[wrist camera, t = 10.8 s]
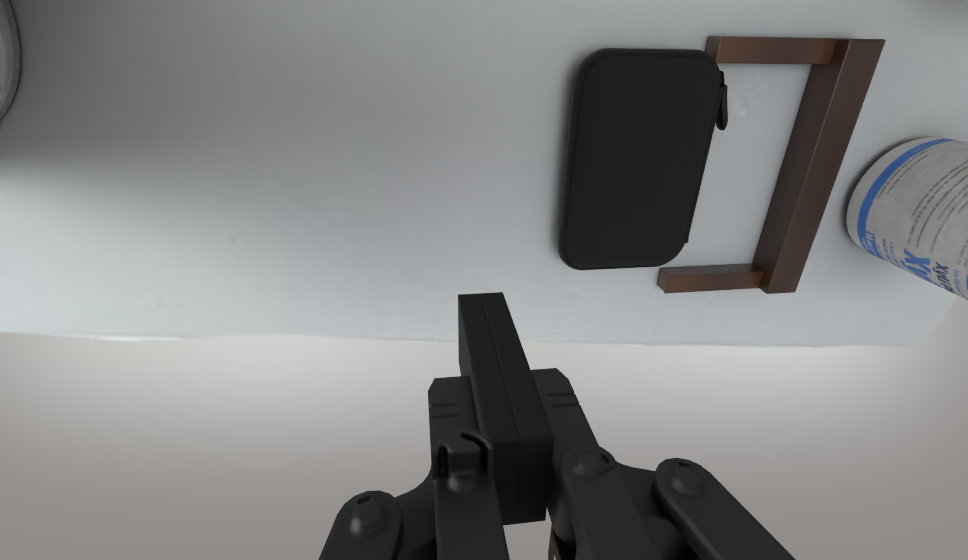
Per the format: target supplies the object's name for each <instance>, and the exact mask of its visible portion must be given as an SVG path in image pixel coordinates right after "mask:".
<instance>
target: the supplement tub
mask: <svg viewBox="0 0 968 560" xmlns="http://www.w3.org/2000/svg"><path fill="white" fill-rule="evenodd" d="M847 228H848V232H849V235H850V237H851V238H852V240H853V241H854V243H855V244H856V245H857V246H859V247H860V248H861V249H863V250H864V251H866V252H868V253H871V254H872V255H874V256H877V257H879V258H881V259H883V260H885V261H887V262H889V263H891V264H893V265H896V266H898V267H900V268H902V269H904V270H906V271H908V272H910V273H912V274H914V275H917V276H919V277H921V278H923V279H925V280H927V281H929V282H931V283H933V284H935V285H937V286H940V287H942V288H944V289H946V290H948V291H950V292H952V293H954V294H956V295H958V296H961V297H963V298H965V299H967V300H968V142H964V141H958V140H953V139H948V138H942V137H926V138H920V139H916V140H913V141H909V142H906V143H904V144H902V145H900V146H898V147H896V148H894V149H892V150H891V151H889V152H888V153H886V154H885V155H883V156H882V157H881V158H880V159H879V160H877V161H876V162H875V163H874V164H873V165H872V166H871V167H870V168H869V169H868V171H867V172H866V173H865V174H864V176H863V177H862V178H861V180H860V181H859V183H858V184H857V186H856V188H855V190H854V192H853V194H852V196H851V199H850V202H849V205H848V210H847Z"/></svg>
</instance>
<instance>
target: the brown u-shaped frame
mask: <svg viewBox="0 0 968 560" xmlns="http://www.w3.org/2000/svg"><path fill="white" fill-rule="evenodd" d="M884 43H885V40H884V39H844V38H790V37H737V36H708V39H707V44H706V49H705V52H706V53H707V54H709V55H710V56H711V57H712V58H713V59H714V60H715V62H716V63H753V64H813V66H812V69H811V73H810V76H809V79H808V83H807V86H806V89H805V93H804V96H803V99H802V102H801V106H800V109H799V112H798V116H797V119H796V122H795V126H794V129H793V132H792V135H791V139H790V142H789V145H788V149H787V152H786V155H785V158H784V162H783V165H782V168H781V172H780V175H779V178H778V182H777V185H776V188H775V191H774V195H773V198H772V201H771V205H770V208H769V211H768V215H767V218H766V221H765V224H764V228H763V231H762V234H761V238H760V241H759V244H758V247H757V251H756V254H755V257H754V261H753V264H737V265H717V266H696V267H675V268H660V272H659V277H658V281H657V285H658V286H659V287H660V288H661V289H662V290H663V291H664V292H665V293H678V292H696V291H714V290H732V289H750V288H760V289H761V290H762V291H764V292H765V293H767V294H773V293H790V292H795V291H796V288H797V286H798V283H799V280H800V277H801V274H802V272H803V269H804V266H805V263H806V260H807V258H808V255H809V252H810V249H811V247H812V244H813V241H814V238H815V235H816V233H817V230H818V227H819V224H820V222H821V219H822V216H823V213H824V210H825V208H826V205H827V202H828V199H829V196H830V194H831V191H832V188H833V185H834V183H835V180H836V177H837V174H838V171H839V169H840V166H841V163H842V160H843V158H844V155H845V152H846V149H847V146H848V144H849V141H850V138H851V135H852V132H853V130H854V127H855V124H856V121H857V119H858V116H859V113H860V110H861V107H862V105H863V102H864V99H865V96H866V94H867V91H868V88H869V85H870V82H871V80H872V77H873V74H874V71H875V68H876V66H877V63H878V60H879V57H880V55H881V52H882V49H883V46H884Z"/></svg>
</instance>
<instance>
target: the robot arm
mask: <svg viewBox="0 0 968 560" xmlns="http://www.w3.org/2000/svg"><path fill="white" fill-rule="evenodd" d="M19 71H20V45H19V38H18V32H17V27H16V23H15V19H14V15H13V12H12V9H11V6H10V3H9V1H8V0H0V118H1V117H2V116H3V114H4V113H5V112H6V110H7V108H8V106H9V105H10V103H11V101H12V99H13V96H14V93H15V91H16V88H17V83H18V79H19ZM458 321H459V365H460V372H461V376H460V377H447V378H435V379H434V381H433V383H432V384H431V386H430V388H429V390H428V402H429V422H430V423H429V424H430V443H431V462H432V464H431V470H430V472H429V474H428V476H427V477H426V479H425V480H424V481H423V483H421V484H420V485H419V486H418V487H416V488H415V489H413V490H411V491H410V492H407V493H405V494H402V495H400V496H397V497H395V498H394V497H393V496H392V495H391V494H389V493H385V492H382V491H367V492H364V493H361V494H359V495H356V496H354V497H353V498H352V499H350V500H349V501H348V502H346V503H345V504H344V505H343V507H342V508H341V510H340V511H339V513H338V514H337V517H336V519H335V521H334V524H333V526H332V529H331V531H330V534H329V536H328V538H327V541H326V543H325V546H324V548H323V550H322V553H321V555H320V558H319V560H510V559H509V554H508V549H507V544H506V539H505V533H504V528H503V525H510V524H519V523H527V522H536V521H544V520H545V517H546V508H548V512H549V515H550V518H551V522H552V527H551V535H550V542H549V550H548V560H554V554H555V558H556V560H796V559H794V558H793V557H792V555H790V553H789V552H788V551H787V550H786V549H785V548H783V546H782V545H781V544H780V543H779V542H778V541H777V540H776V539H775V538H774V537H773V536H772V535H771V534H770V533H769V532H768V531H767V530H766V529H765V528H764V527H763V526H762V525H761V524H760V523H759V522H758V521H757V520H756V519H755V518H754V517H753V516H752V515H751V514H750V513H749V512H748V511H747V510H746V509H745V508H744V507H743V506H742V505H741V504H740V503H739V502H738V501H737V500H736V499H735V498H734V497H733V496H732V495H731V494H730V493H729V492H728V491H727V490H726V489H725V488H724V486H722V484H721V483H720V482H718V480H717V479H716V478H714V476H713V475H712V474H711V473H710V472H708V471H707V470H706V469H704V468H703V467H702V466H701V465H699V464H696V463H694V462H692V461H690V460H686V459H680V458H672V459H666V460H664V461H663V462H661V463H660V464H659V465H658V467H657V469H656V471H651V470H644V469H639V468H633V467H629V466H626V465H623V464H620V463H618V462H616V461H615V459H614V457H613V456H612V455H611V454H610V453H609V452H608V451H606V450H605V449H603V448H602V447H600V446H599V445H598V443H597V441H596V439H595V436H594V434H593V432H592V430H591V428H590V426H589V423H588V421H587V419H586V417H585V415H584V413H583V410H582V408H581V406H580V405H579V402H578V399H577V397H576V395H574V391H573V388H572V386H571V384H570V382H569V380H568V378H567V377H565V376H564V375H563V374H562V373H561V372H560V371H559V370H558V369H556V368H551V369H538V370H530V368H529V365H528V362H527V359H526V357H525V354H524V351H523V348H522V345H521V342H520V340H519V337H518V334H517V331H516V328H515V326H514V323H513V320H512V317H511V314H510V312H509V309H508V306H507V303H506V300H505V298H504V295H503V292H500V293H482V294H463V295H458Z"/></svg>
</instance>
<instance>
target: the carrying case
mask: <svg viewBox="0 0 968 560" xmlns="http://www.w3.org/2000/svg"><path fill="white" fill-rule="evenodd" d="M715 122H716V125H717V128H718V129H720V130H724V129H725V128H726V126H727V122H728V112H727V85H725V84H724V73H723V72H722V71H720V70H719V67H718V65H717V63H716V62H715V60H714V59H713V58H712V57H711V56H710V55H709V54H707V53H706V52H703V51H701V50H687V49H627V48H605V49H600V50H597V51H595V52H593V53H592V54H590V55H589V56H588V57H587V58H585V59H584V61H583V62H582V63H581V64H580V66H579V68H578V69H577V71H576V73H575V77H574V81H573V87H572V96H571V105H570V115H569V126H568V137H567V147H566V158H565V169H564V179H563V189H562V199H561V210H560V220H559V230H558V253H559V255H560V257H561V259H562V260H563V261H564V263H565V264H566V265H568V266H569V267H571V268H573V269H577V270H595V269H616V268H638V267H657V266H661V265H664V264H666V263H668V262H669V261H671V260H672V259H674V258H675V257H676V256H677V255H678V254H679V252H680V251H681V250H682V248H683V246H684V243H687V242H688V238H689V232H690V228H691V224H692V219H693V215H694V211H695V207H696V203H697V198H698V194H699V190H700V186H701V181H702V177H703V173H704V169H705V164H706V160H707V156H708V152H709V148H710V143H711V139H712V135H713V131H714V126H715Z"/></svg>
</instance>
